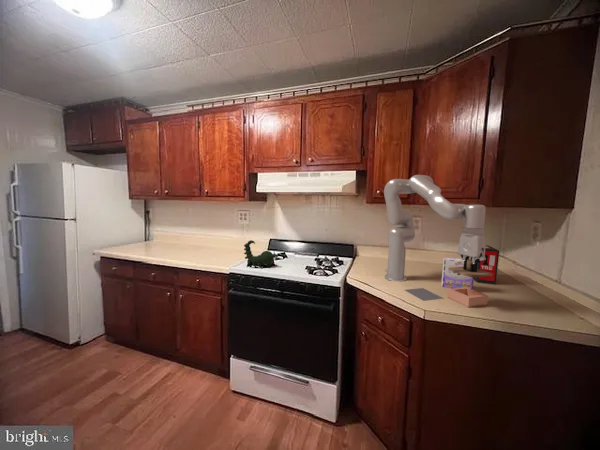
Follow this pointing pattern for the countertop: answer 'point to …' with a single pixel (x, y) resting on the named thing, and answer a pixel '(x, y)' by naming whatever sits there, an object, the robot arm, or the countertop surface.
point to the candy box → (454, 274)
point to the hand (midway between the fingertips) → (469, 270)
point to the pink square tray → (467, 297)
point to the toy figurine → (264, 258)
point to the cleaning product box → (488, 266)
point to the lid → (467, 271)
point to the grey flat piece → (423, 294)
